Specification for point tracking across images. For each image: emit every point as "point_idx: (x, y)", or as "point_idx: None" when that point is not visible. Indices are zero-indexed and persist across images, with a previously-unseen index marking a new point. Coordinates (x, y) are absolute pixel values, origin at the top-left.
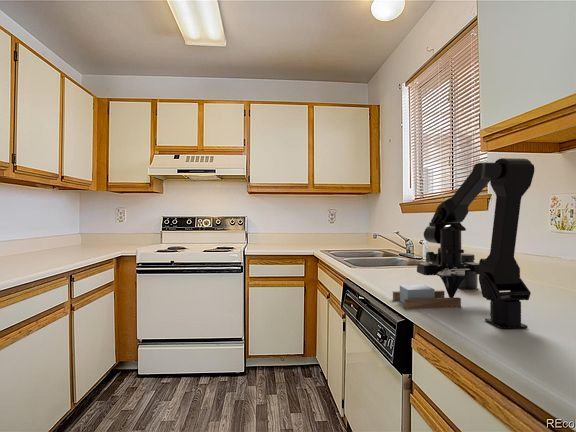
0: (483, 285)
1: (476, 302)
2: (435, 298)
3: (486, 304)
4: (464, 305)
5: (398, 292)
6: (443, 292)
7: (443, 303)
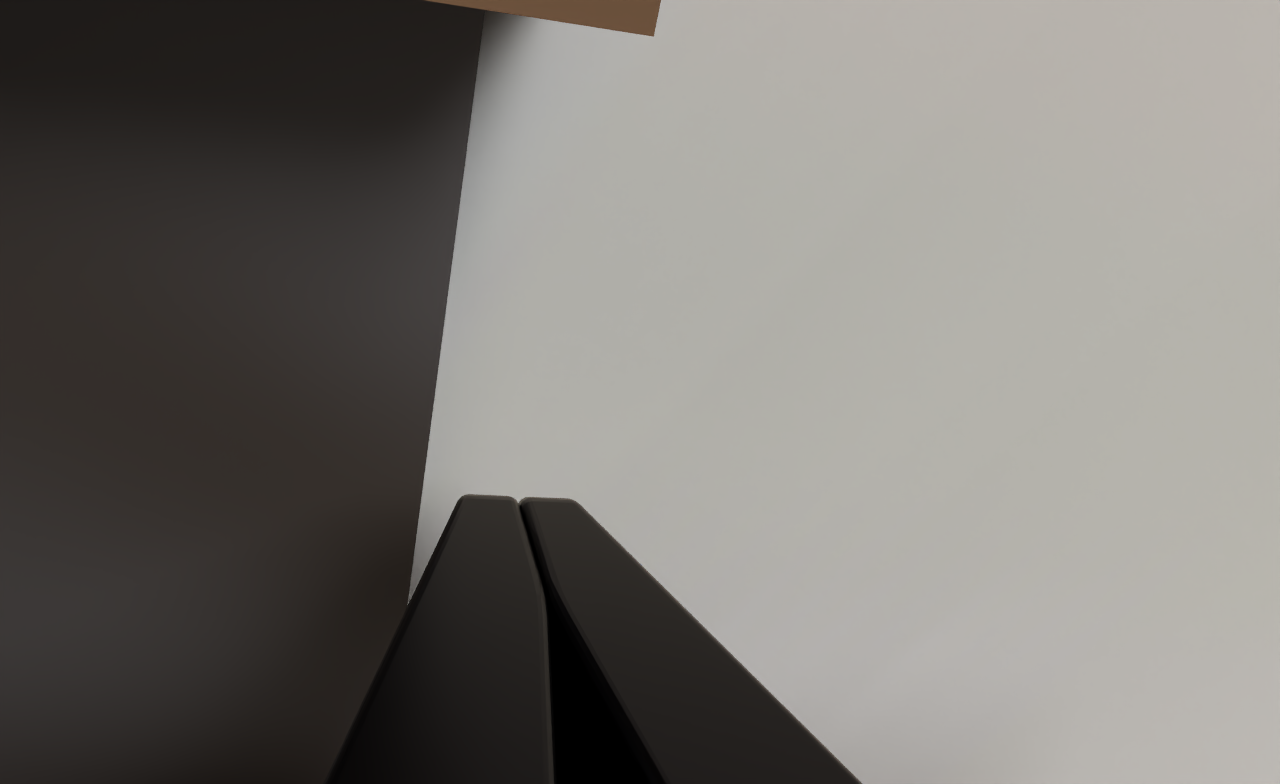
0: None
1: (1199, 510)
2: None
3: (1217, 679)
4: None
5: None
6: (572, 13)
7: None
